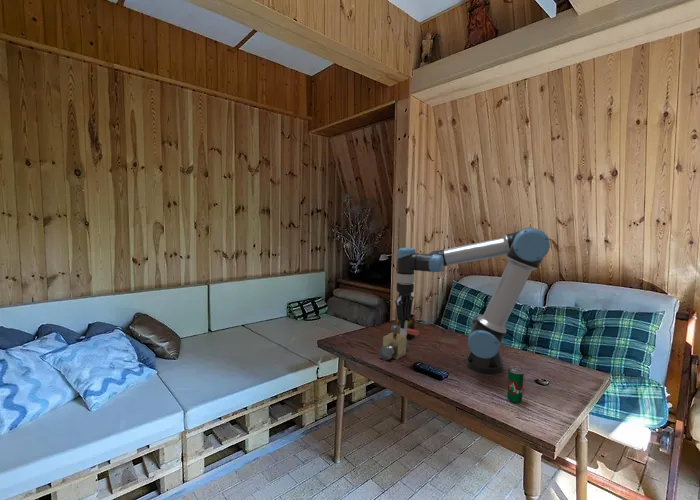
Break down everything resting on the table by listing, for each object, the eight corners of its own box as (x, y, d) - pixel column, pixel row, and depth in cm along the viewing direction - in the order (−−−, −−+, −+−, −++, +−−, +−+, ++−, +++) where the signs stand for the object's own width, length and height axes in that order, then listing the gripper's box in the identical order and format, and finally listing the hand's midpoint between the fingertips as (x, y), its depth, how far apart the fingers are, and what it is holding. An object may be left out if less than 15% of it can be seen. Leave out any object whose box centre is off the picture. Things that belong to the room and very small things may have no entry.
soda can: (517, 396, 126) (519, 365, 125) (525, 404, 121) (527, 371, 120) (504, 396, 126) (505, 365, 125) (511, 404, 121) (512, 371, 120)
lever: (389, 335, 163) (389, 326, 163) (393, 333, 166) (393, 324, 166) (415, 342, 155) (416, 332, 154) (419, 340, 158) (419, 330, 157)
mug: (400, 330, 200) (401, 310, 198) (418, 337, 188) (418, 316, 187) (388, 333, 194) (388, 313, 193) (405, 341, 183) (405, 319, 182)
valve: (396, 347, 174) (396, 330, 173) (410, 351, 169) (410, 333, 168) (377, 357, 160) (378, 339, 159) (392, 362, 155) (392, 343, 154)
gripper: (405, 279, 158) (403, 329, 160) (390, 283, 148) (388, 336, 150) (419, 281, 153) (417, 332, 156) (405, 286, 143) (403, 340, 146)
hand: (403, 334), depth 153 cm, fingers closed
